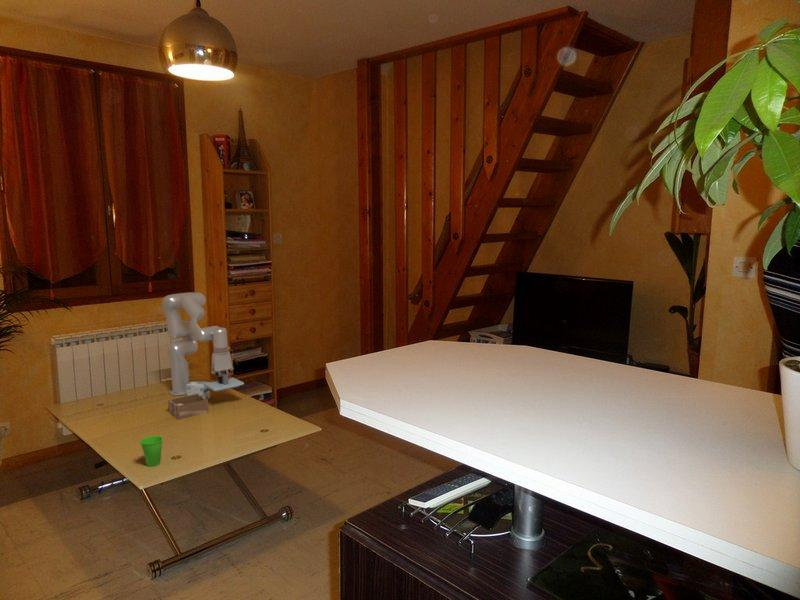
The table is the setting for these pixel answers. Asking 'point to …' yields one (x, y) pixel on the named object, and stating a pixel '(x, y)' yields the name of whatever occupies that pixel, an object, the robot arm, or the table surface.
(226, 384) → the lid
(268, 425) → the table surface
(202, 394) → the light bulb box
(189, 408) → the crate
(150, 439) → the cup
